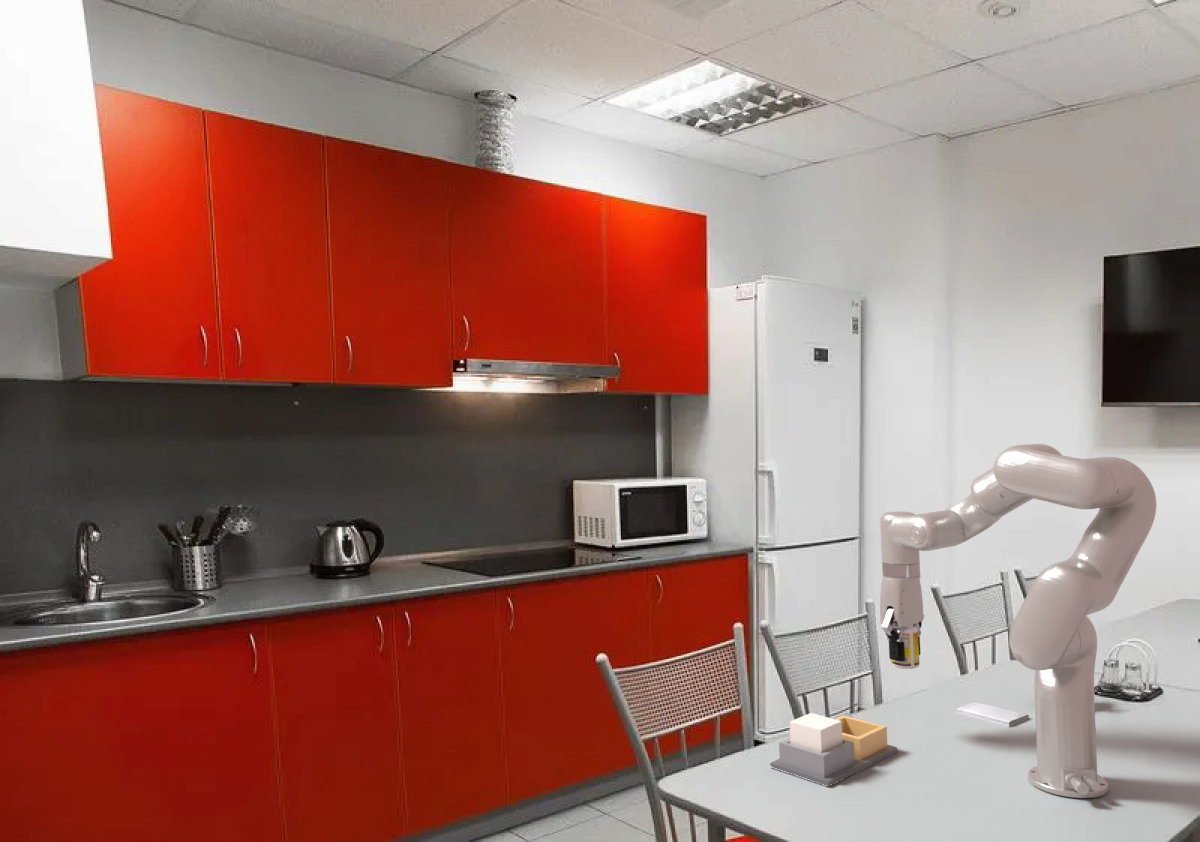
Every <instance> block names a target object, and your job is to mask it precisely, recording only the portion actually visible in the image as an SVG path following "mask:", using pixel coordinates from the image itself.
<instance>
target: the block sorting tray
mask: <svg viewBox="0 0 1200 842" xmlns="http://www.w3.org/2000/svg"><path fill="white" fill-rule="evenodd" d="M778 743H779V744H778V745H779V746H778V748H779V749H778V750H779V751H778V752H779V758H778V759H776V760H774V761H771V762H770V766H772V767H774V768H777V769H780V770H783V771H786V772H789V773H792V774H795V775H798V776H801V777H804V778H807V779H810V780H812V781H815V782H818V783H821V784H824V785H827V786H830V785H831V784H834V783H836V782H837V781H840V780H841V779H844V778H846V777H848V776H849V775H852V774H854V773H856V772H858V771H859V772H862V771H863V770H865V769H867V768H870V767H871V766H873V765H875V764H877V763H879V762H881V761H883V760H885V759H886V758H889V757H890V756H893V755H894V754H897V753H898V747H897V746H894V745H891V744H890V745H889V744H888V726H885V725H882V724H879V723H875V722H874V723H873V722H871V721H867V720H864V719H863V720H862V719H859V718H854V717H851V716H847V715H841V716H839V717H836V718H830V717H828V716H824V715H820V714H816V713H812V712H809V713H808V714H805V715H803V716H800V717H798V718H796V719H793V720H790V721H789V738H787V739H784V740H782V741H780V742H778ZM864 768H865V769H864ZM862 769H863V770H862ZM859 772H858V773H859ZM856 774H857V773H856ZM854 775H855V774H854ZM852 776H853V775H852ZM848 778H849V777H848ZM846 779H847V778H846ZM844 780H845V779H844ZM840 782H841V781H840ZM836 784H837V783H836ZM834 785H835V784H834ZM830 787H831V786H830Z"/></svg>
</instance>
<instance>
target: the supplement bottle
mask: <svg viewBox="0 0 1200 842" xmlns="http://www.w3.org/2000/svg"><path fill="white" fill-rule="evenodd" d="M913 625H914V624H912V625H909V626H907V627H904V629H903V637H902V642H904V650H905V661H903V662H901V661H896V660H891V665H892V666H893V667H894V668H897V669H903V670H914V669H916V668H919V666H920V655H919V645H918V629H917V628H916V627H915V626H913ZM894 626H897V623H894ZM894 630H895V631H896V633H897V634H898V629H894Z"/></svg>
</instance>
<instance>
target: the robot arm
mask: <svg viewBox="0 0 1200 842" xmlns="http://www.w3.org/2000/svg"><path fill="white" fill-rule="evenodd" d="M1153 486H1154V485H1153V484H1152V482H1151V481H1150V478H1148V476H1147V475H1146V473H1145V472H1144V471H1143V470H1142V469H1141V468H1140V467H1139V466H1138V465H1136V464H1134V463H1133V462H1131V461H1130V460H1127V459H1125V458H1121V457H1114V456H1104V457H1102V456H1101V457H1091V458H1077V457H1072V456H1068V455H1062V453H1061V452H1060V451H1059V450H1058V449H1056V448H1055V447H1052V446H1051V445H1047V444H1043V443H1031V444H1030V443H1029V444H1017V445H1012V446H1010V447H1007V448H1005V449H1004V450H1003V451H1001V452H1000V453H999V455H998V456H997V457H996V459H995V461H994V464H993V467H991V469H989V470H986V471H985V472H984V473H982V474H981V475H979V476H977V477H976V478H974V479H973V480H972V482H971V484H970V491H971V493H970V494H969V495H968V496H967V497H965V498H964V499H963V500H960V501H959V502H957V503H956V504H954V505H952V506H951V507H949V508H947V509H944V510H939V511H932V512H926V513H918V514H915V513H914V512H910V511H887V512H885V513H883V514H882V515H881V516H880V518H879V519H880V520H879V521H880V522H879V523H880V545H881V547H880V549H881V568H882V569H881V570H882V580H881V585H880V594H879V596H880V598H879V599H880V601H879V615H880V616H879V617H880V620H879V621H880V624H881V629H882V630H883V632H884V633H885V635H886V637H887V638H886V639H887V641H888V653H889V654H888V655H889V657H888V658H889V659H890V661H892V660H896V661H901V662H903V661H905V650H904V642H902V637H903V629H904V627H907V626H909V625H912V624H914V625H913V626H915V627H916V628H917V629H918V645H919V656H920V655H921V638H920V636H921V634H922V632H921V628H922V624H923V623H922V622H923V621H924V618H925V613H924V602H923V601H924V600H923V592H922V585H921V581H920V579H921V562H920V561H921V560H920V558H921V557H920V551H923V552H930V551H935V550H940V549H941V550H942V549H944V548H945V549H947V548H951V547H956V546H959V545H961V544H963V543H964V542H965V543H966V542H967V541H969V540H970V539H972V538H974V537H976V536H978V535H979V534H981V533H983V532H985V531H986V530H987V529H989V528H991V527H992V526H993V525H994V524H995V523H997V522H998V521H999V520H1001V518H1003V517H1004V516H1005V515H1008V514H1009V513H1011V512H1012V511H1014V510H1016V509H1018V508H1019V507H1021V506H1023V505H1024V504H1026V503H1028V502H1030V501H1031V500H1033V499H1035V500H1039V501H1043V502H1047V503H1050V504H1056V505H1059V506H1062V507H1063V506H1064V507H1067V508H1072V509H1077V510H1094V509H1099V510H1098V511H1097V513H1096V515H1095V516H1094V517H1093V519H1092V520H1091V522H1090V524H1089V525H1088V526H1087V528H1086V529H1085V531H1084V532H1083V534H1082V537H1081V539H1080V541H1079V543H1078V545H1077V546H1076V548H1075V550H1074V551H1073V553H1072V554H1071V556H1070V557H1069V558H1067V559H1066V560H1063V561H1059V562H1056V563H1053V564H1051V565H1049V566H1047V567H1046V568H1044V569H1043V570H1042V571H1041V572H1040V573H1039V575H1037V577H1036V578H1035V580H1034V581H1033V583H1032V584H1031V587H1030V589H1029V590H1028V592H1027V594H1026V596H1025V598H1024V600H1023V603H1022V604H1021V606H1020V608H1019V610H1018V612H1017V614H1016V616H1015V617H1014V619H1013V622H1012V624H1011V627H1010V631H1009V635H1008V643H1009V648H1010V650H1011V654H1012V655H1013V657H1014V658H1015V659H1016V661H1017V662H1019V663H1020V664H1021V665H1023V666H1024V667H1026V668H1027V669H1030V670H1034V681H1033V683H1034V684H1033V687H1034V716H1035V719H1034V720H1035V739H1036V740H1035V741H1036V763H1037V764H1036V765H1037V766H1033V767H1031V768H1030V769H1029V770H1028V774H1027V777H1028V781H1029V782H1030V784H1031V785H1033V787H1036V788H1038V789H1039V790H1042V791H1044V792H1046V793H1049V794H1053V795H1056V796H1062V797H1067V798H1073V799H1075V798H1076V799H1093V798H1099V797H1102V796H1104V795H1105V794H1107V793H1108V791H1109V784H1108V781H1107V780H1106V778H1105V779H1104V778H1103V777H1102V776H1101V775H1099V774H1098V759H1097V758H1098V756H1097V753H1098V752H1097V735H1096V734H1097V731H1096V730H1097V729H1096V710H1095V709H1096V706H1095V705H1096V703H1095V701H1096V700H1095V697H1096V696H1095V668H1096V660H1097V659H1096V658H1097V651H1098V635H1097V631H1096V628H1095V626H1094V624H1093V622H1092V620H1091V619H1090V618H1089V617H1088V616H1089V615H1091V614H1095V613H1097V612H1098V613H1099V612H1100V611H1102V610H1105V609H1106V608H1107V607H1109V606H1110V605H1111V604H1113V602H1114V600H1115V598H1116V596H1117V594H1118V592H1119V590H1120V588H1121V586H1122V584H1123V582H1124V581H1125V579H1126V577H1127V575H1128V573H1129V572H1130V570H1131V568H1132V566H1133V564H1134V562H1135V559H1136V558H1137V556H1138V553H1139V552H1140V550H1141V548H1142V546H1143V545H1144V543H1145V541H1146V539H1147V537H1148V535H1149V533H1150V531H1151V530H1152V527H1153V524H1154V521H1155V517H1156V513H1157V497H1156V493H1155V490H1154V487H1153ZM894 623H897V626H894ZM894 629H898V634H897V633H896V631H895V630H894Z"/></svg>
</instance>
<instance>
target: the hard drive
mask: <svg viewBox="0 0 1200 842" xmlns="http://www.w3.org/2000/svg"><path fill="white" fill-rule="evenodd" d="M955 711H956V712H955V713H956V714H958V715H963V716H966V717H970V718H974V719H977V720H981V721H984V722H989V723H992V724H996V725H1000V726H1004V727H1008V728H1011V727H1012V726H1016V725H1018V724H1021V723H1023V722H1026V721H1027V720H1030V717H1029V716H1030V715H1029V714H1026V713H1022V712H1017V711H1014V710H1010V709H1006V708H1002V707H998V706H993V705H991V704H985V703H981V702H977V701H974V702H970V703H968V704H964V705H961V706H960V707H958V708H956V710H955Z"/></svg>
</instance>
